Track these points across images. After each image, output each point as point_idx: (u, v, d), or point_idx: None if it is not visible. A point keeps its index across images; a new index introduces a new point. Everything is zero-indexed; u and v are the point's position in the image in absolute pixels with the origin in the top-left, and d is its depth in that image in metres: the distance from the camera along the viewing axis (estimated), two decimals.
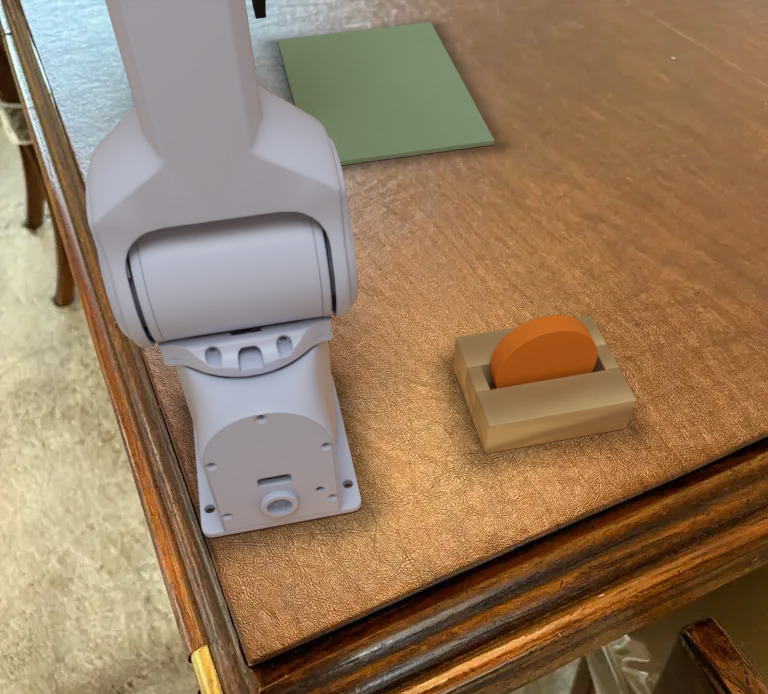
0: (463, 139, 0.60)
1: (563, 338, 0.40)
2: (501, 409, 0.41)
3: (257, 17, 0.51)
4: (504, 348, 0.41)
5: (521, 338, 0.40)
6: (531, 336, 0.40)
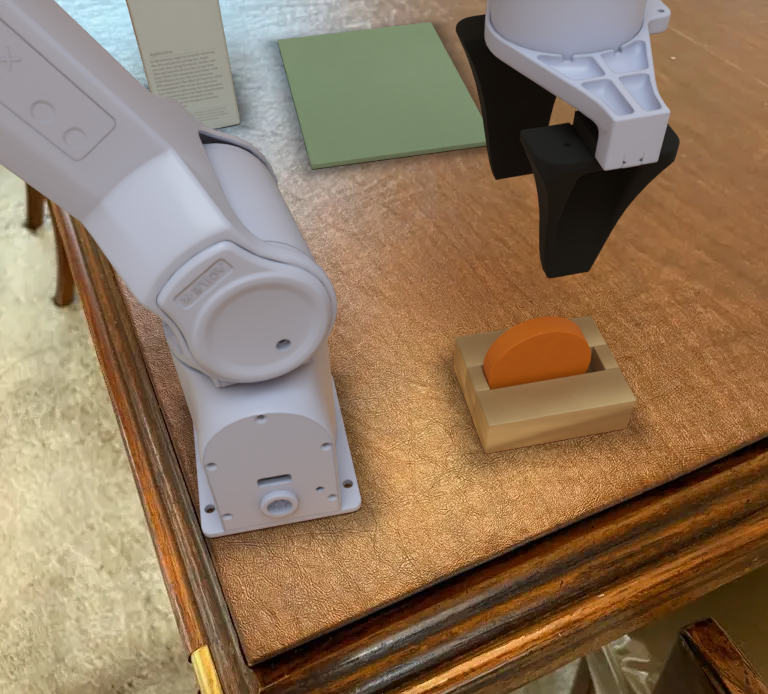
0: (463, 139, 0.60)
1: (551, 339, 0.40)
2: (501, 409, 0.41)
3: (543, 269, 0.35)
4: (493, 354, 0.41)
5: (508, 343, 0.40)
6: (517, 340, 0.40)
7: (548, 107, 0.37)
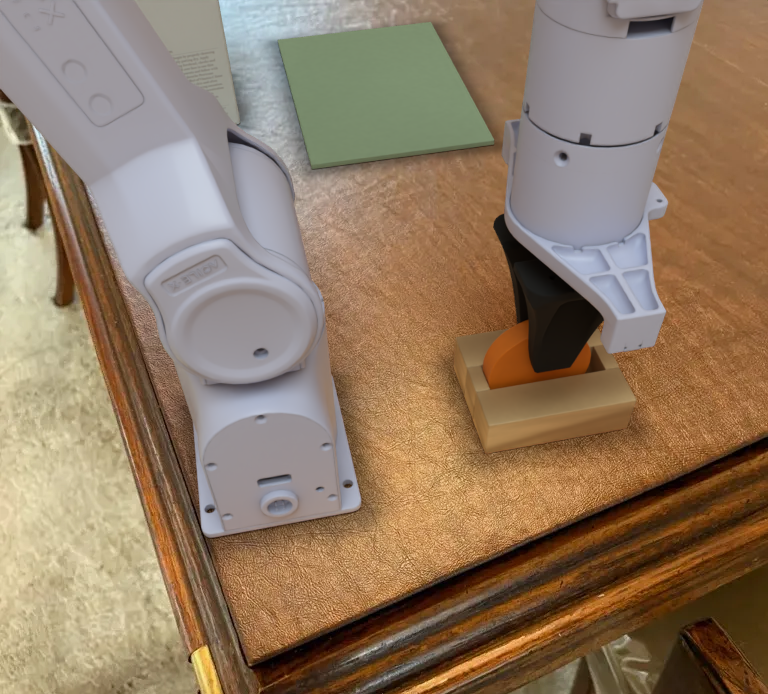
0: (463, 139, 0.60)
1: None
2: (501, 409, 0.41)
3: (531, 364, 0.41)
4: (493, 354, 0.41)
5: (508, 343, 0.40)
6: (517, 340, 0.40)
7: None
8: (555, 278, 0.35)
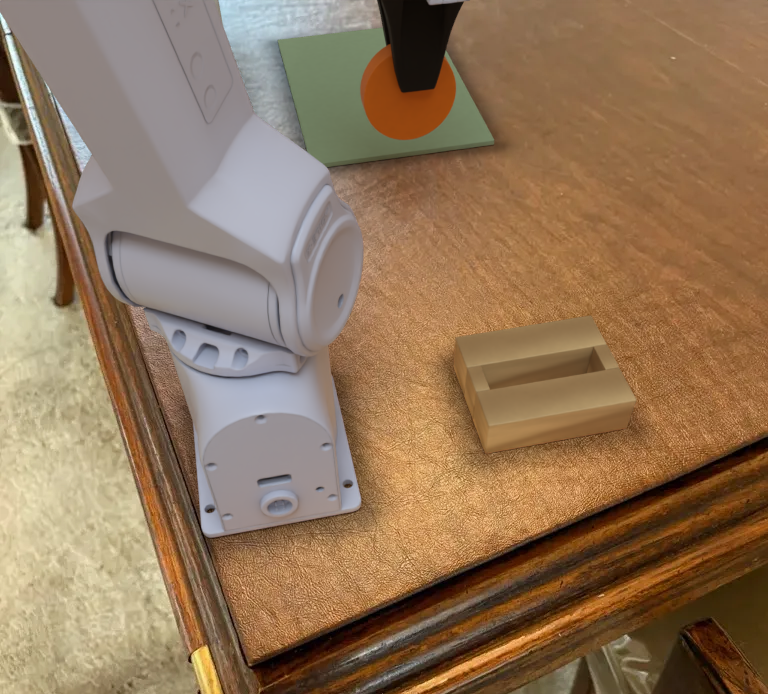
0: (463, 139, 0.60)
1: None
2: (501, 409, 0.41)
3: (399, 86, 0.46)
4: (366, 76, 0.46)
5: (377, 62, 0.45)
6: (384, 57, 0.45)
7: None
8: None
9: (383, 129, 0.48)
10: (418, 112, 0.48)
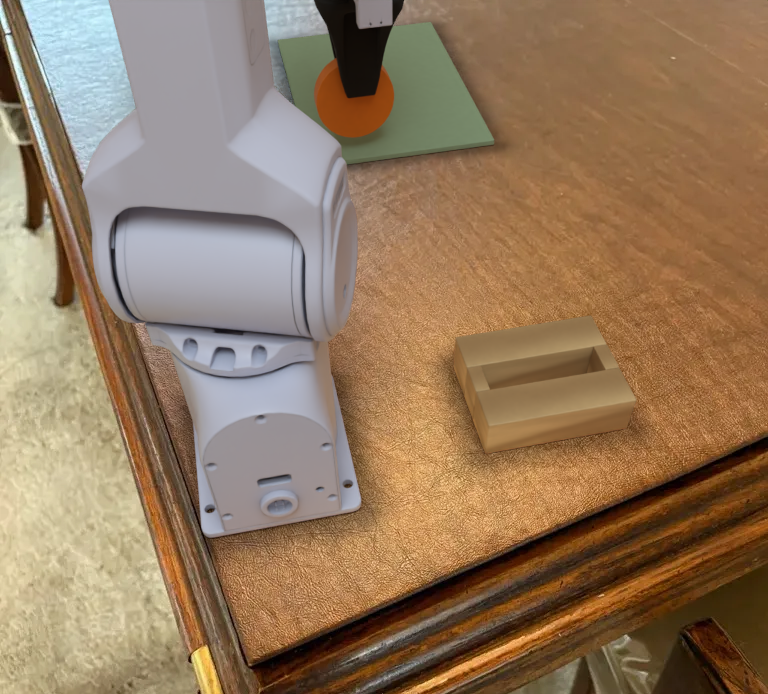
0: (463, 139, 0.60)
1: None
2: (501, 409, 0.41)
3: None
4: (318, 84, 0.55)
5: (326, 72, 0.54)
6: (332, 68, 0.54)
7: None
8: None
9: (334, 128, 0.57)
10: (363, 113, 0.57)
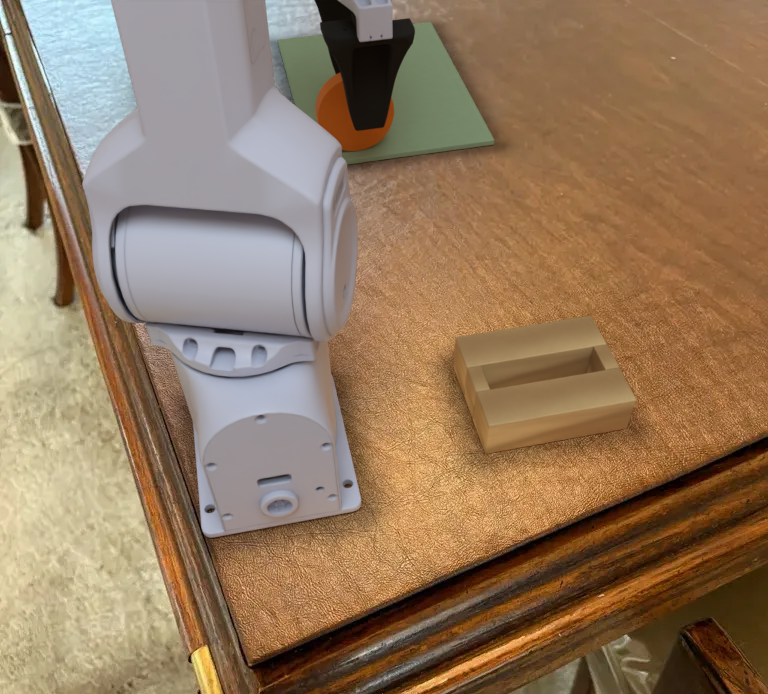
0: (463, 139, 0.60)
1: None
2: (501, 409, 0.41)
3: None
4: (319, 99, 0.56)
5: (327, 88, 0.55)
6: (333, 84, 0.55)
7: None
8: (347, 30, 0.48)
9: None
10: None
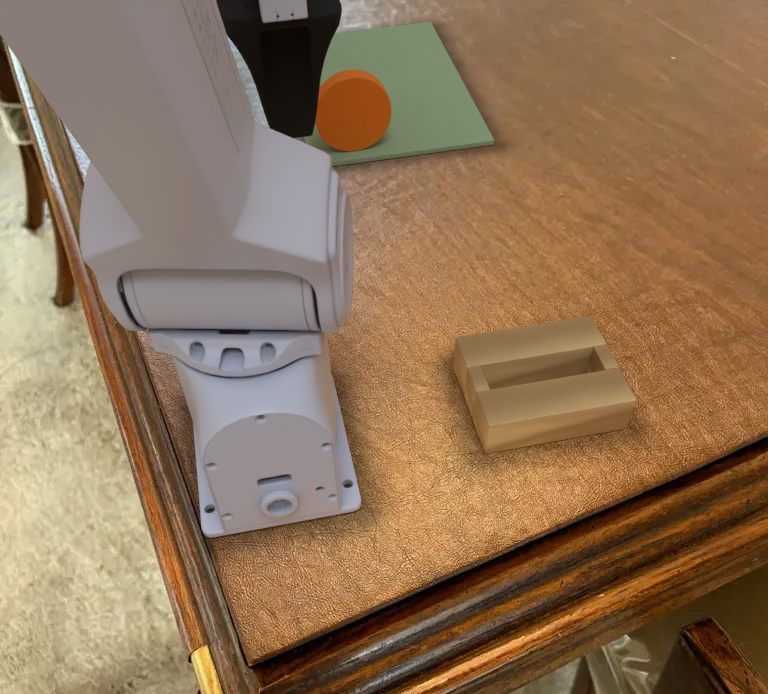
0: (463, 139, 0.60)
1: (353, 85, 0.55)
2: (501, 409, 0.41)
3: None
4: None
5: (323, 90, 0.55)
6: (328, 86, 0.55)
7: None
8: (250, 8, 0.36)
9: (334, 144, 0.58)
10: (362, 128, 0.58)
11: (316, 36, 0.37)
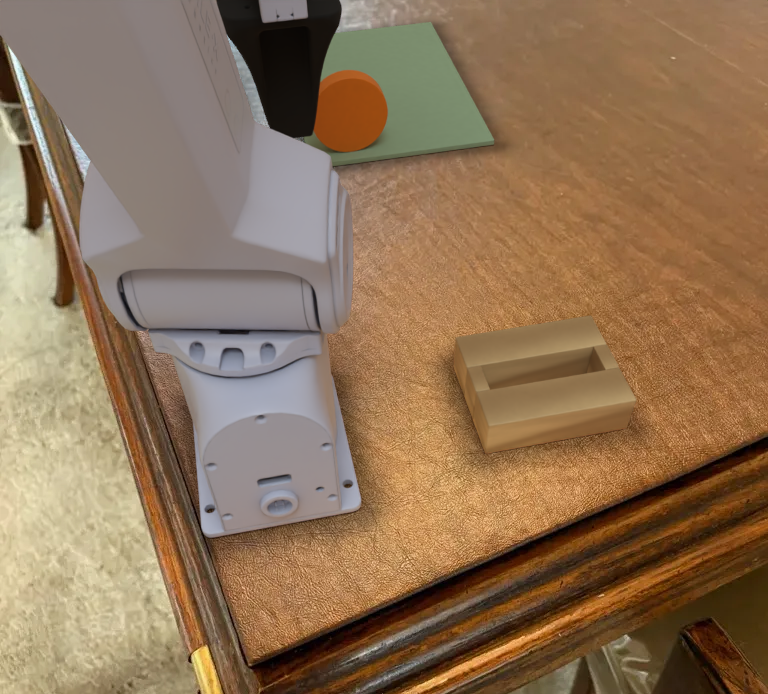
0: (463, 139, 0.60)
1: (346, 86, 0.55)
2: (501, 409, 0.41)
3: None
4: None
5: None
6: (321, 90, 0.55)
7: None
8: (250, 8, 0.36)
9: (333, 146, 0.58)
10: (359, 127, 0.58)
11: (316, 36, 0.37)
